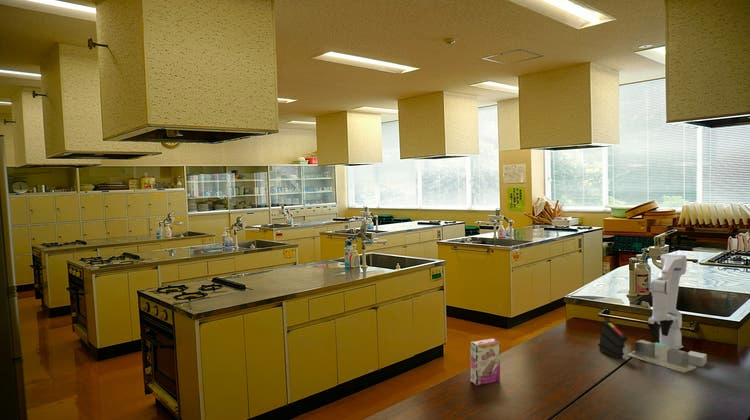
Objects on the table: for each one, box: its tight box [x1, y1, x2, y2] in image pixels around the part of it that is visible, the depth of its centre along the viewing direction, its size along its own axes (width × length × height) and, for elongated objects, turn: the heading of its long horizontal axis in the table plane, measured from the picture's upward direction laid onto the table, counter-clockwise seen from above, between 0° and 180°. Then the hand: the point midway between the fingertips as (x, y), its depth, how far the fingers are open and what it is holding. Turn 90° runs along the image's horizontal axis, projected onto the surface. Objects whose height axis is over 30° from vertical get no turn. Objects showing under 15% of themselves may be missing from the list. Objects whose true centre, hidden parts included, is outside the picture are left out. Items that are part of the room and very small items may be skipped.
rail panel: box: [627, 339, 697, 374], centre depth 208 cm, size 9×24×7 cm, turn 30°
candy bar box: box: [469, 338, 501, 387], centre depth 192 cm, size 11×5×16 cm, turn 111°
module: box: [654, 342, 668, 358], centre depth 215 cm, size 4×5×5 cm
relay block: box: [688, 350, 708, 368], centre depth 205 cm, size 6×6×4 cm
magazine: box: [597, 320, 629, 360], centre depth 217 cm, size 4×13×15 cm, turn 19°
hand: (659, 337), depth 214 cm, fingers open, 7 cm apart
